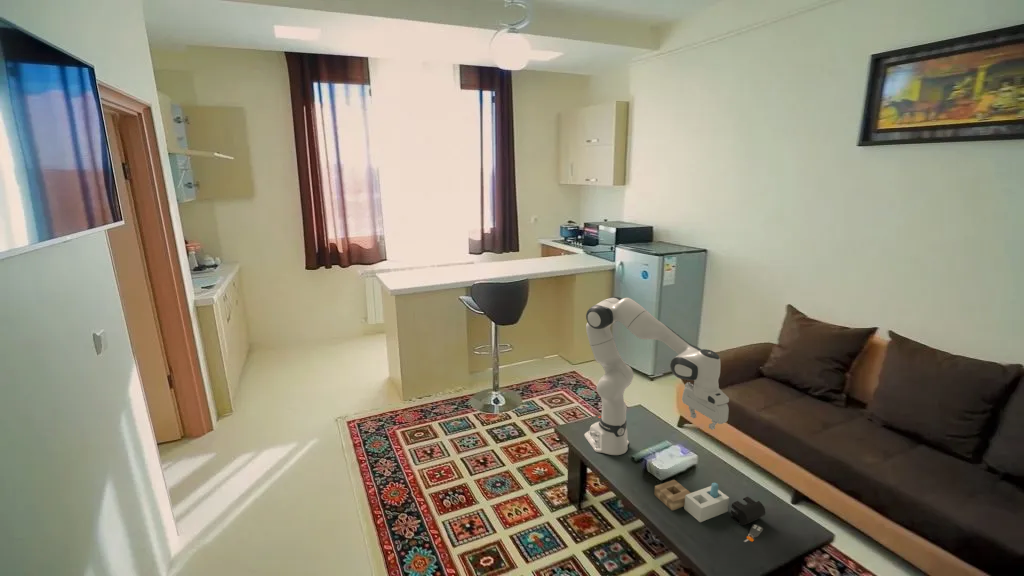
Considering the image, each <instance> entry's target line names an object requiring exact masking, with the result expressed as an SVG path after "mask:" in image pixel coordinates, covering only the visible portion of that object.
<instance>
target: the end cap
mask: <svg viewBox="0 0 1024 576" xmlns="http://www.w3.org/2000/svg"><path fill="white" fill-rule="evenodd" d="M742 500H743V501H744V502H746V504H745V503H744V504H743V503H741V502H740V501H739V500H737V501H734V502H732V503H731V508H732V509H733V510H730V514H731V516H730V518H731V519H732V520H733V521H735V522H736V523H737V524H738V525H740V526H746V525H748V524H750V523H751V522H752V523H753V522H754V521H756V520H759V519H762V518H763V517H764V516H765V515H766V507H765V506H764V504H763V503H762V502H760V500H758V501H755V500H754V499H752V498H751V497H750V496H746V497H743V498H742Z"/></svg>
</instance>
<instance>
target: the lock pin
mask: <svg viewBox="0 0 1024 576" xmlns="http://www.w3.org/2000/svg"><path fill="white" fill-rule="evenodd" d="M710 486H711V493H710V496H712V497H713V498H714V499H715V498H717V496H718V490H719V483H717V482H712V483H711V485H710Z"/></svg>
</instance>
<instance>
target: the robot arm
mask: <svg viewBox="0 0 1024 576" xmlns="http://www.w3.org/2000/svg"><path fill="white" fill-rule="evenodd" d="M585 317H586V318H585V319H586V322H587V323H586V325H585V329H586V331H585V332H586V335H587V339H588V343H589V346H590V349H591V352H592V354H593V358H594V361H596V362H597V363H598V364H600V365H601V368H603V370H604V374H603V375H602V376H601V377H600V378H599V380H598V382H597V384H596V392H597V394H598V396H599V397H600V399H601V415H598V418H597V419H598V420H599V421H596V422H594V423H592V424H591V426H590V427H589V430H588V431H586V432H585V433H584V435H583V436H584V438H585V439H586V440H587V441H588V442H587V443H589V444H590V447H592V449H593V450H594V451H595V452H596V453H602V454H606V455H611V456H619V455H623V454H625V453H626V452H627V451H628V445H630V441H629V440H628V428H627V426H628V425H627V404H626V401H624V400H625V399H624V394H625V391H626V389H627V388H629V386H630V385H631V384H632V381H633V379H634V371H633V368H632V367H631V366H630V365H628V364H626V362H625V361H624V360H623V358H622V356H621V354H620V352H619V350H618V348H617V344H616V342H615V338H614V335H613V333H612V330H611V326H612V325H613V324H616V322H619V323H621V324H622V325H623V326H624V327H625V328H626V329H627V330H628V331H629V332H630V333H631V334H632V335H634V337H637V339H640V340H656V341H660V342H661V343H664V344H665V345H666V346H668V347H669V348H670V349H671V350H673V351H674V352H675V353H676V354H677V355H676V356H675V357H674V358H673V359H671V361H670V364H669V365H670V366H669V367H670V370H671V373H672V375H674V376H675V377H676V378H678V379H681V380H685V381H686V380H687V381H689V382H686V383H685V384H684V389H683V392H682V397H681V401H682V403H683V404H685V405H686V406H688V410H689V413H690V414H689V415H690V416H689V417H690V418H692V419H696V418H697V413H696V412H698V413H700V414H702V415H703V416H704V417H707V418H708V419H710V420H711V422H712V423H709V424H708V429H709V430H711V431H713V430H716V426H717V424H719V425H722V424H725V423H727V422H728V420H729V413H730V411H729V410H730V409H729V408H730V407H729V404H728V403H729V402H730V397H729V396H727V394H726V393H724V392H723V390H722V389H720V387H719V386H720V385H719V379H720V376H721V368H722V367H721V364H722V363H721V357H720V356H719V354H718V353H717V352H715V351H713V350H712V349H711V350H710V349H706V348H705V349H704V348H703V349H702V348H700V347H698V346H695V345H693V344H691V343H690V342H688V341H687V340H685V339H684V338H683V337H682V336H680V335H679V334H677V332H676V331H674V330H673V329H671V328H670V327H669V326H667V325H666V324H665V323H663V322H661V321H660V320H659V319H657V318H656V317H654V316H653V315H652V313H650V312H649V311H648V310H647V309H645V308H644V307H643V306H642V305H641V304H639V303H638V302H636V301H635V300H634V299H632V298H630V297H624V298H622V297H620V296H611V297H608V298H607V299H603V300H601V301H600V302H598V303H596V304H594V305H592V306H591V307H589V309H588V310H587V311H586V314H585ZM691 381H694V382H693V383H692V382H691Z"/></svg>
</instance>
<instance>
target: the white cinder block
mask: <svg viewBox="0 0 1024 576" xmlns="http://www.w3.org/2000/svg"><path fill="white" fill-rule="evenodd" d="M710 493H711V485H710V486H707V487H704V488H701V489H698V490H695V491H693V492H690V494H687V495H685V505H684V507H683V508H684V510H685V511H686V512H687V513H688V514H690V515H691V516H692V518H694V519H696V520H697V521H698V522H699V523H702V522H704V521H706V520H707V521H708V520H709V519H712V518H716V517H718V516H721V515H722V514H725V513H727V512H729V511H728V510H729V504H730V497H729V496H728V495H727V494H725V493H723V492H722V491H721V490H720V489H718V496H717V498H715V499H714V498H713V497H712V496H710Z"/></svg>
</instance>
